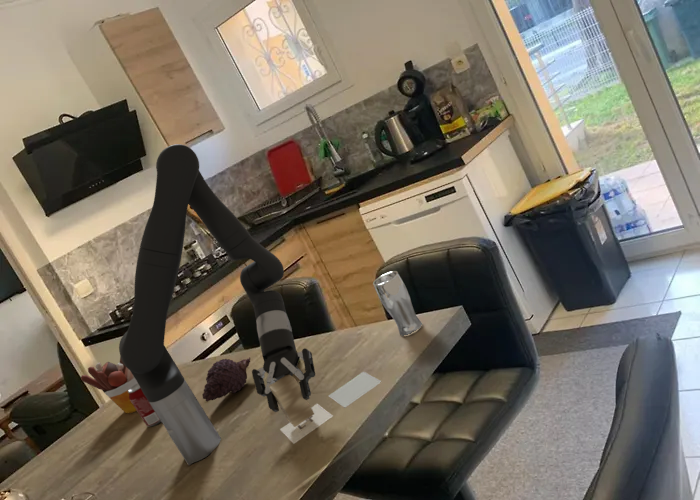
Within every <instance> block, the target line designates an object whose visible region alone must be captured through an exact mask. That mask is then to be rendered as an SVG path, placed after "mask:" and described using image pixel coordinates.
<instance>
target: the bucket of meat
mask: <svg viewBox="0 0 700 500" xmlns="http://www.w3.org/2000/svg"><path fill="white" fill-rule="evenodd" d="M87 372H88V374H89V375H90V376H89V375H87V374H83V375H81V376H80V379H81V381H82V382H84V383H86V384H87V385H90V386H91V387H94V388H95V389H97V390H101V391H102V392H103V393H104V394H105V395H106V397H108V398H109V399H110V400H112V402H113V403H115V405H116V406H118V408H120V410H122V411H123V413H126V414H133V413H136V412H137V410H136V408H135V407H134V405H133V404H132V402H131V401H130V399H129V393H128V390H129V389H130V388H131V387H132V386H134V385H135V384H137V383H138V382H137V381H136V379H135V377H134V376H133V374H132V373H131V371H130V370H129V369H128V368H127V367H126V366H125V365H124V364H123V362H122V360H121V357H120V356H119V362H118V363H117V364H115V363H112V362H110V361H107V362H105V363H104V364H103V365H102V363H101V362H97V363H96V364H95V367H94V366H90V367H88V368H87ZM137 413H138V412H137Z"/></svg>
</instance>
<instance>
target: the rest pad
mask: <svg viewBox="0 0 700 500" xmlns="http://www.w3.org/2000/svg"><path fill="white" fill-rule="evenodd" d="M381 381H382V380H380V379H378V378H377V377H375V376H372V375H371V374H369V373H368V372H366V371H362V372H360V373H359V374H358V375H357V376H355V377H354V378H352V379H351V380H349V381H348V382H346V383H344V384H343V385H342V386H341V387H339V388H337V389H335V390H334V392H331V393H330V394H329V395H328V397H329V398H331V399H332V400H333V401H334V402H336V403H337V404H338V405H340V406H341V407H343V408H347V407H348V406H349V405H351V404H353V403H354V402H355V401H357V400H358V399H359V398H361V397H362V396H364V395H365V394H367V393H368V392H370V391H371V390H372V389H374V388H375V387H377V386H378V385H379V384H381V383H382V382H381ZM380 382H381V383H380Z"/></svg>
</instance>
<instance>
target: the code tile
mask: <svg viewBox="0 0 700 500" xmlns="http://www.w3.org/2000/svg"><path fill="white" fill-rule="evenodd" d="M311 408H312V410H313V412H314V415H312V416H311V417H309V418H308V419H306V420H305V421H303V422H302V423H300V424H299V425H297V426H296V427H294V426H293V425H292V424H291V423H290V422H288V423H287V424H286V425H284V426H283V427H281V428H279V430H280V432H281V433H283V434H284V436H285V437H287V439H288V440H289V441H290V442H291V443H292V444H293V445H295V444H296V443H298V442H299V441H301V440H302V439H303V438H304V437H306V436H307V435H308V434H310V433H312V432H313V431H314V430H316V429H317V428H319V427H320V426H322V425H323V424H325V423H326V422H327V421H328V420H330V419H331V418H333V417H334V415H333V414H331V412H329V411H327V410H326V409H325V408H324V407H322V406H321V405H320V404H319V403H315V404H314V405H313V406H312V407H311Z"/></svg>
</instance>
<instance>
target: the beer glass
mask: <svg viewBox="0 0 700 500" xmlns="http://www.w3.org/2000/svg"><path fill="white" fill-rule="evenodd" d="M372 284H373V287H374V289H375V291H376V294H377V296H378V298H379V300H380V302H381V304H382V305H383V307H384V308H385V310H386V311H387V312H388V313H389V315H390V317H392V319H393V320H394V322H395V324H396V326H397V329H398V332H399V335H400V336H401V335H402V336H404V335H408V334H411V333H412V332H414V331H416V330H417V329H419V328H420V327H421V325H422V326H423V323H422V321H421V320H420V318H419V317H418V316H417V314H416V312H415V309H414V307H413V304H412V300H411V296H410V294H409V291H408V289H407V287H406V285H405V283H404V281H403V279H402V277H401V276H400V274H399V272H398V271H397V270H393V271H388V272H386V273H384V274H382V275H380V276H379V277H377V278H376V279H375V280H374V281H373V283H372ZM402 336H401V337H402Z"/></svg>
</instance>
